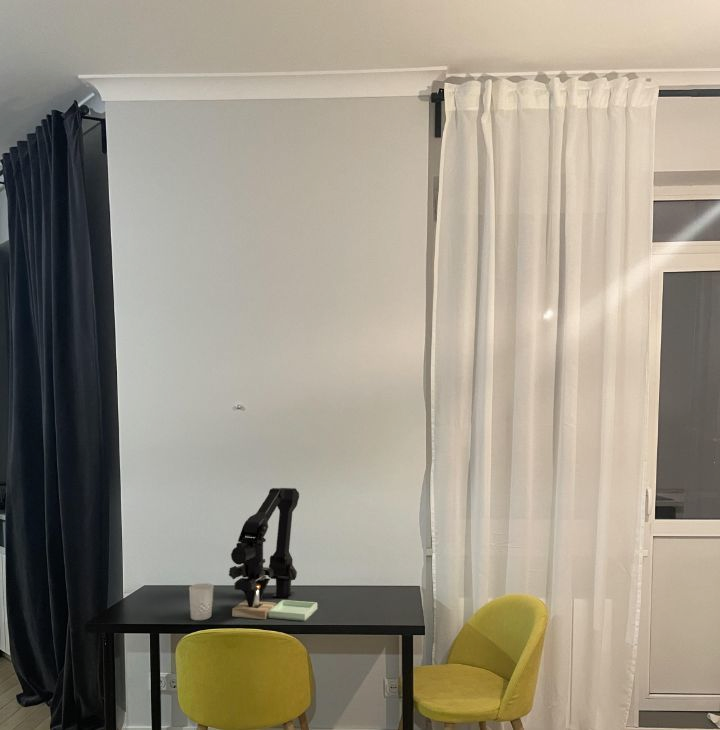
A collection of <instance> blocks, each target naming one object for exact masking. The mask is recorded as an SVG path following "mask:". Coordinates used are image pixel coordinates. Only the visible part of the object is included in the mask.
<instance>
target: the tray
mask: <svg viewBox="0 0 720 730" xmlns="http://www.w3.org/2000/svg"><path fill="white" fill-rule="evenodd" d="M316 611H318V602H315V601H301V600H289V599H282V600H280V601H279V602H278V603H276V605H275V606H274V607H273V608H272V609H270V610H269V611H268V617H267V619H268V618H269V619H276V620H278V619H279V620H289V621H298V622H299V621H300V622H301V621H302V622H306V620H308V619H309V618H310V617H311V616H312V615H313V614H314V613H315V612H316Z"/></svg>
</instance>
